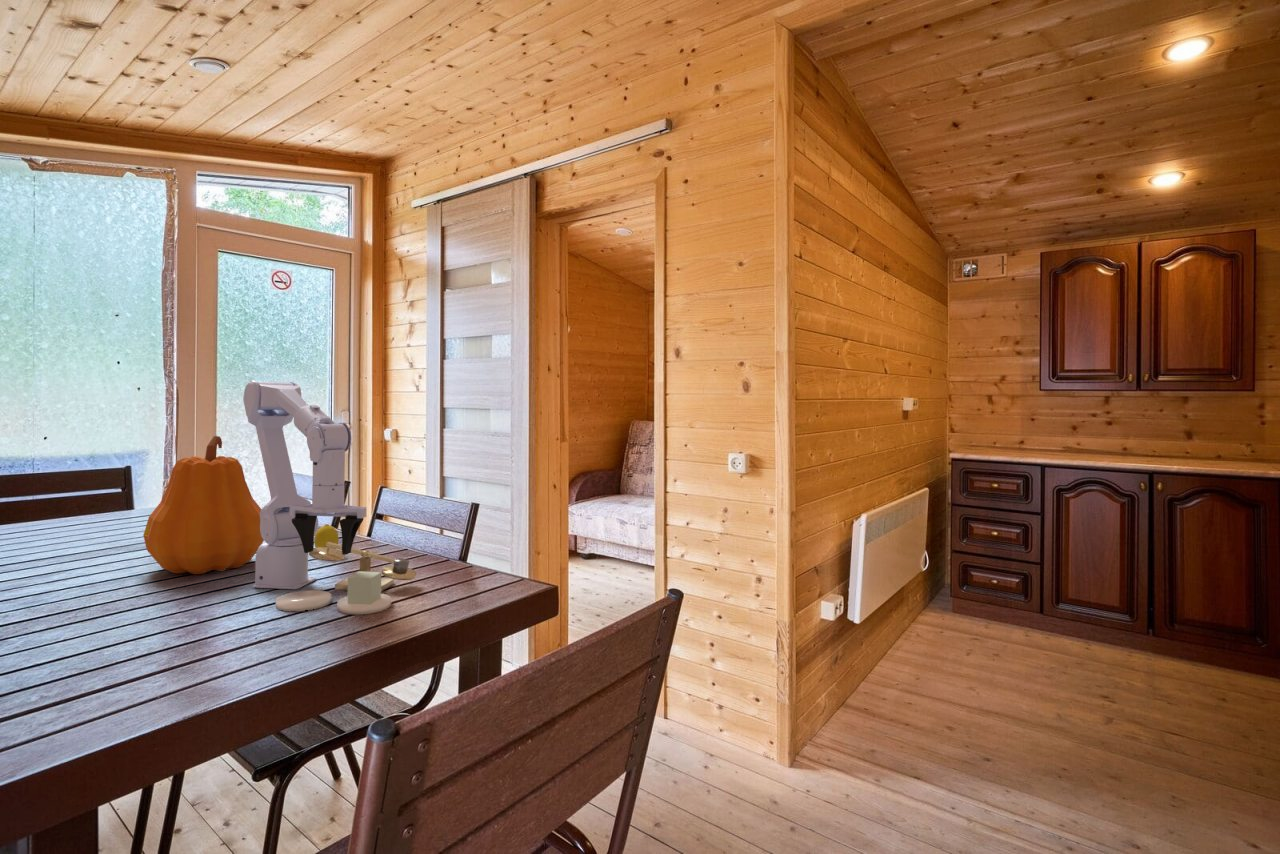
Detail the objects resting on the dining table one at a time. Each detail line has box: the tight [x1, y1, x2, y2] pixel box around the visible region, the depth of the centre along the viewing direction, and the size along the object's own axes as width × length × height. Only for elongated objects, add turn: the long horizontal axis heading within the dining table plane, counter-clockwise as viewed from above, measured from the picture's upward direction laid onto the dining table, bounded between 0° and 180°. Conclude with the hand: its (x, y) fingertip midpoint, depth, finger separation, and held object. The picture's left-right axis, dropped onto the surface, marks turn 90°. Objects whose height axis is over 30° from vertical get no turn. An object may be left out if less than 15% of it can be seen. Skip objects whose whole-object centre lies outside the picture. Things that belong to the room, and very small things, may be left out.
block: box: [346, 570, 382, 605], centre depth 128 cm, size 4×4×5 cm
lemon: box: [314, 523, 340, 549], centre depth 166 cm, size 6×6×8 cm
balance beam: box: [308, 542, 417, 581], centre depth 141 cm, size 23×7×3 cm, turn 88°
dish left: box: [275, 589, 332, 612], centre depth 128 cm, size 10×10×1 cm
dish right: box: [336, 593, 392, 616], centre depth 128 cm, size 10×10×1 cm
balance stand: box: [334, 556, 395, 592], centre depth 141 cm, size 10×6×6 cm, turn 88°
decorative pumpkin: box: [143, 435, 265, 575], centre depth 151 cm, size 24×24×30 cm
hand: (327, 552), depth 131 cm, fingers open, 7 cm apart
